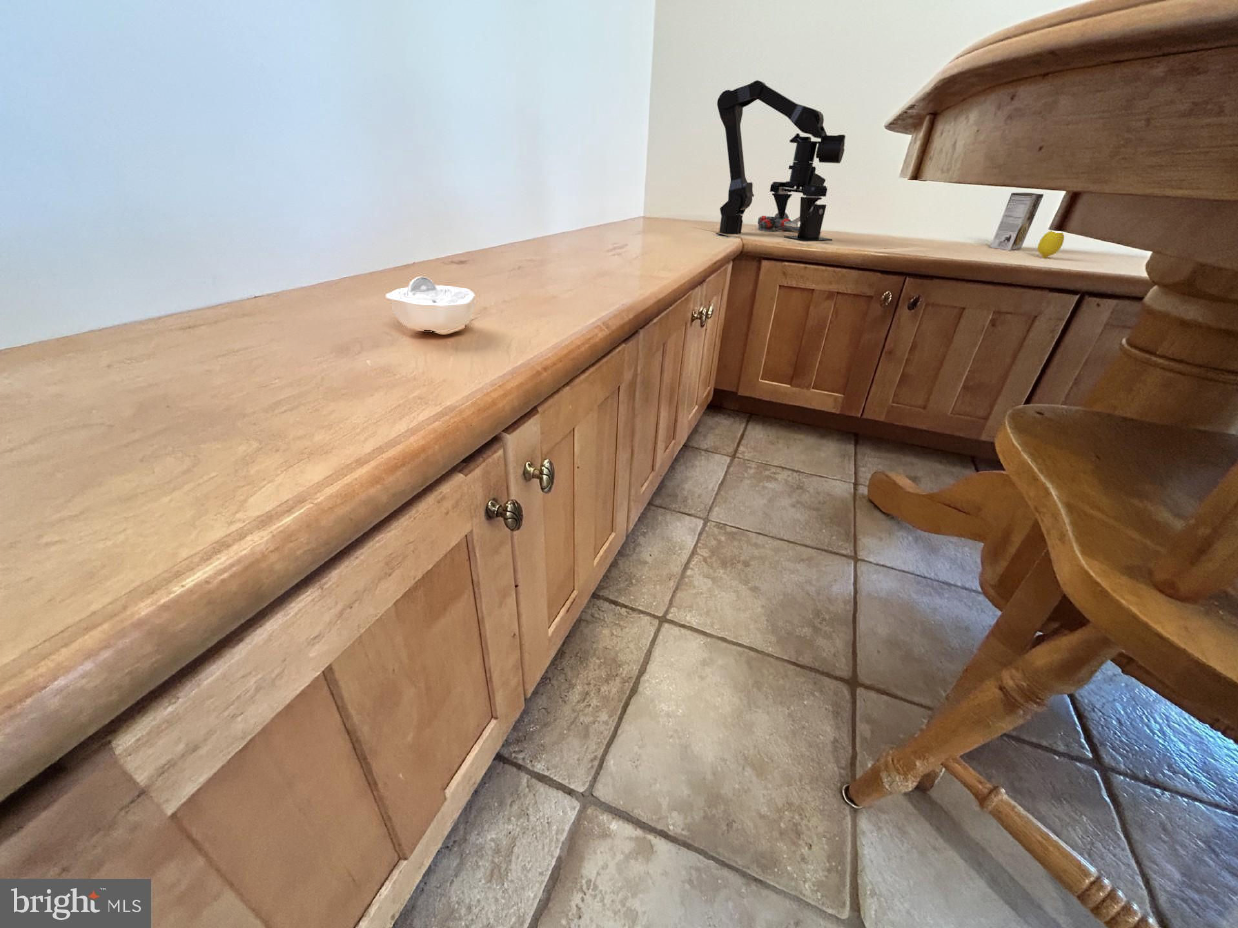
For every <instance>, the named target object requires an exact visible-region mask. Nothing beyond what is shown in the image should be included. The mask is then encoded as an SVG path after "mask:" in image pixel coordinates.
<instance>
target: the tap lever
mask: <svg viewBox="0 0 1238 928" xmlns="http://www.w3.org/2000/svg"><path fill="white" fill-rule="evenodd" d="M812 209H813V207H812V208H811V210H810V212H809V213H808V215H807V217H808V216H811V214H812ZM799 223H800V215H799V216H798V217H796V218H795V219H792V220H791V222H789V221H785V222H784V225H786V226H792V227H797V226H798V227H799Z"/></svg>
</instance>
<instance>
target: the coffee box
mask: <svg viewBox="0 0 1238 928" xmlns="http://www.w3.org/2000/svg"><path fill="white" fill-rule="evenodd" d="M1043 197H1044V194H1043V193H1036V192H1011V194H1010V196H1009V199H1008V201H1007V203H1006V205H1005V206H1006V207H1005V210H1004V211H1003V214H1002V217H1001V219H1000V221H999V224H998V226H997V229H996V231H995V234H994V236H993V238H992V241H991V244H990V247H989V248H990V249H991V248H993V249H998V250H1007V251H1013V250H1018V249H1022V248H1023V245H1024V243H1025V240H1026V238H1027V236H1028V234H1029V230H1030V229H1031V227H1032V224H1033V221H1034V219H1035V217H1036V214H1037V212H1038V210H1039V208H1040V204H1041V202H1042V200H1043Z"/></svg>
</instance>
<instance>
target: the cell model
mask: <svg viewBox="0 0 1238 928" xmlns="http://www.w3.org/2000/svg"><path fill="white" fill-rule="evenodd" d="M385 298H386V299H387V300H388V302H389V304H390V306H391V308H392V312H393V315H394V316H395V317H396V319H397V320H398V321H399V322H400V324H401V325H403V326H404V325H405V326H407V327H411V328H415V329H427V330H446V329H454V328H458V327H461V326H463V325H465V324H467V323H468V324H470V322H471V320H472V317H473V315H474V313H475V310H476V304H475V303H476V302H475V293H474V292H473V291H472V290H470V289H469V288H466V287H459V286H453V285H440V284H435V282H434V281H433V280H431V279H430V278H428V277H426V276H417V277H415V278H413V279H412V280H411V281H410V282H409V283H408V286H406V287H401V288H397V289H395V290H393V291H390V292H388V293H386V295H385ZM405 326H404V327H405ZM407 327H406V328H407ZM465 328H466V327H463V328H461V329H458V330H455V331H451V332H443V333H442V332H434V334H435V333H436V334H439V335H445V336H446V335H449V334H453V333H455V332H458V331H462V330H463V329H465ZM416 331H418V332H425V331H424V330H416Z"/></svg>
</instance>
